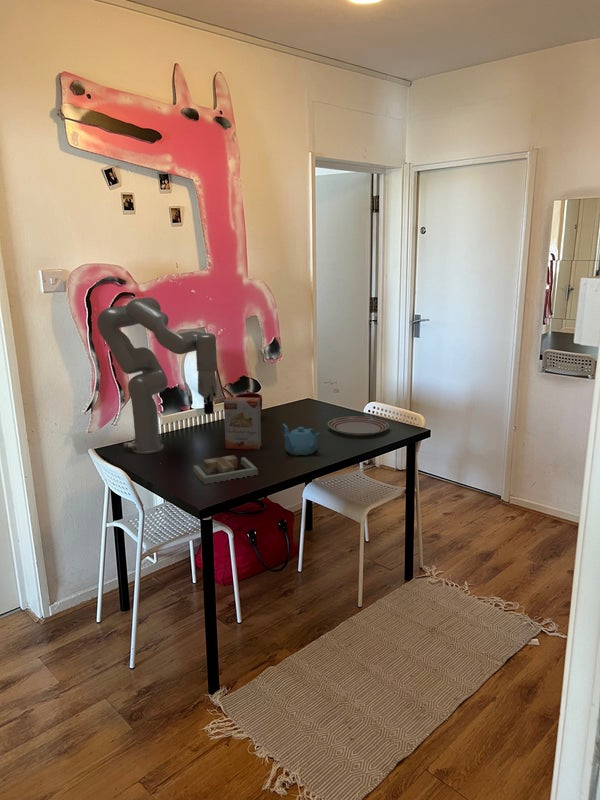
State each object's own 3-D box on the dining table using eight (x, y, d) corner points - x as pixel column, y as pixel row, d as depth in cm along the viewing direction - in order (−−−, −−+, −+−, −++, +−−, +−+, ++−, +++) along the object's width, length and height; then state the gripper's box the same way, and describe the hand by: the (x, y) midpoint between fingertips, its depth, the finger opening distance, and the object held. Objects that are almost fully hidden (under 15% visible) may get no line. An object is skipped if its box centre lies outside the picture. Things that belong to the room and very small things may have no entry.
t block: (213, 481, 215) (212, 470, 214) (203, 470, 225) (203, 460, 224) (245, 475, 220) (244, 464, 219) (234, 464, 230) (233, 455, 229)
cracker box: (225, 449, 248) (222, 400, 243) (229, 444, 254) (226, 396, 248) (258, 450, 246) (257, 400, 241) (261, 445, 252) (260, 397, 246)
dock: (204, 484, 211) (203, 478, 211) (193, 472, 223) (193, 465, 223) (257, 475, 219) (257, 468, 219) (244, 463, 231) (244, 457, 231)
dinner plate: (359, 418, 289) (359, 411, 289) (402, 431, 268) (402, 424, 267) (315, 429, 273) (315, 422, 272) (356, 444, 252) (356, 436, 251)
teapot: (318, 445, 251) (317, 421, 249) (321, 457, 237) (321, 432, 234) (282, 446, 250) (282, 422, 248) (283, 458, 236) (283, 433, 233)
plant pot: (236, 416, 295) (235, 392, 292) (263, 416, 295) (262, 392, 292) (233, 424, 283) (232, 399, 280) (261, 423, 282) (261, 399, 279)
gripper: (191, 363, 232) (194, 409, 237) (202, 371, 219) (204, 419, 224) (210, 362, 235) (212, 407, 240) (222, 369, 222) (224, 417, 227)
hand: (208, 413), depth 232 cm, fingers closed
